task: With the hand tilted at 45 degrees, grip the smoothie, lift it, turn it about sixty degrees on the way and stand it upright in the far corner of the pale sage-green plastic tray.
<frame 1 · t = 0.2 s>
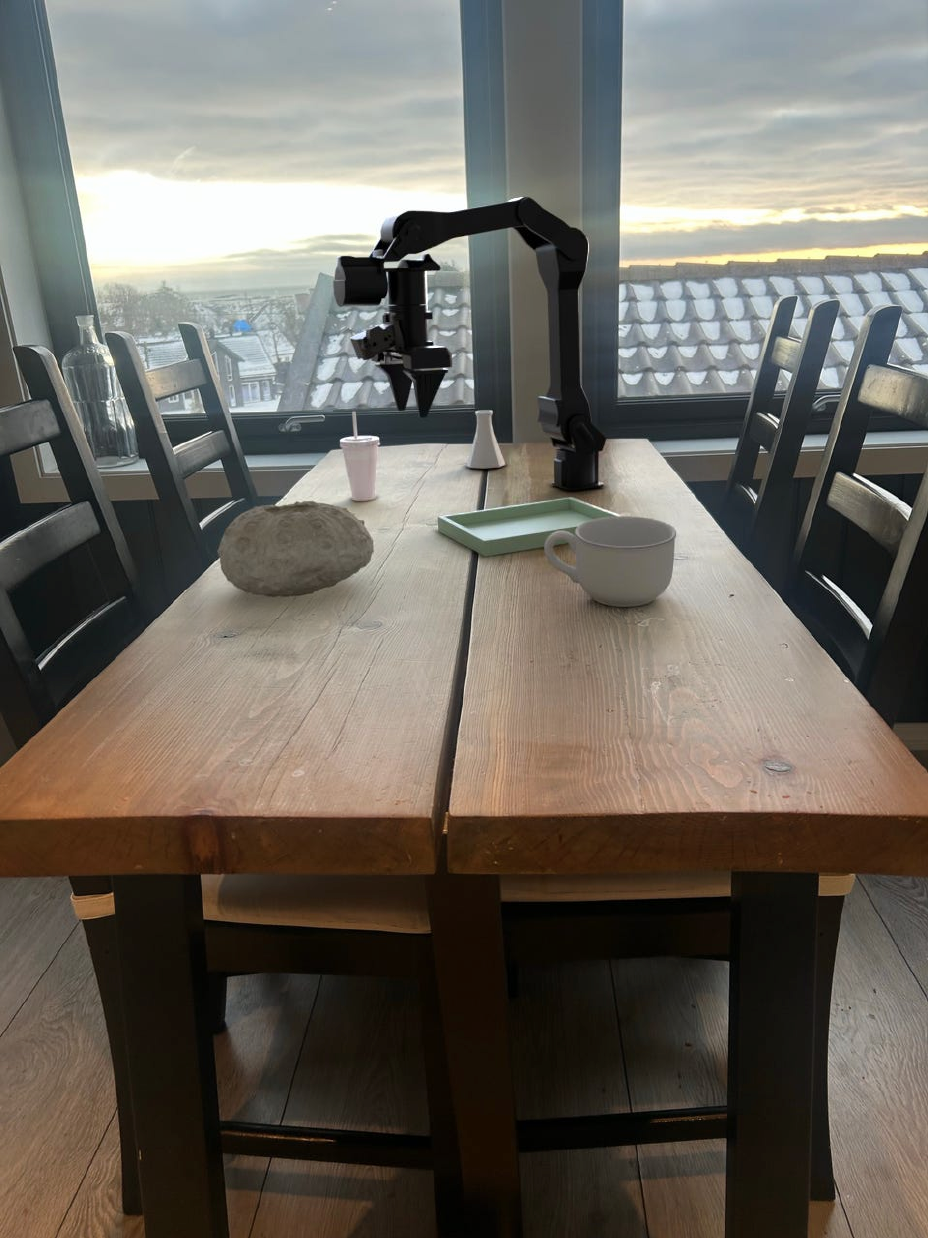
hand: (411, 414, 150), 14 cm above the table, tool pointing down, fingers open, 9 cm apart
smoothie: (364, 499, 163), on the table
teacup: (609, 599, 110), on the table
flask: (485, 467, 185), on the table
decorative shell: (300, 589, 118), on the table
tray: (531, 531, 138), on the table
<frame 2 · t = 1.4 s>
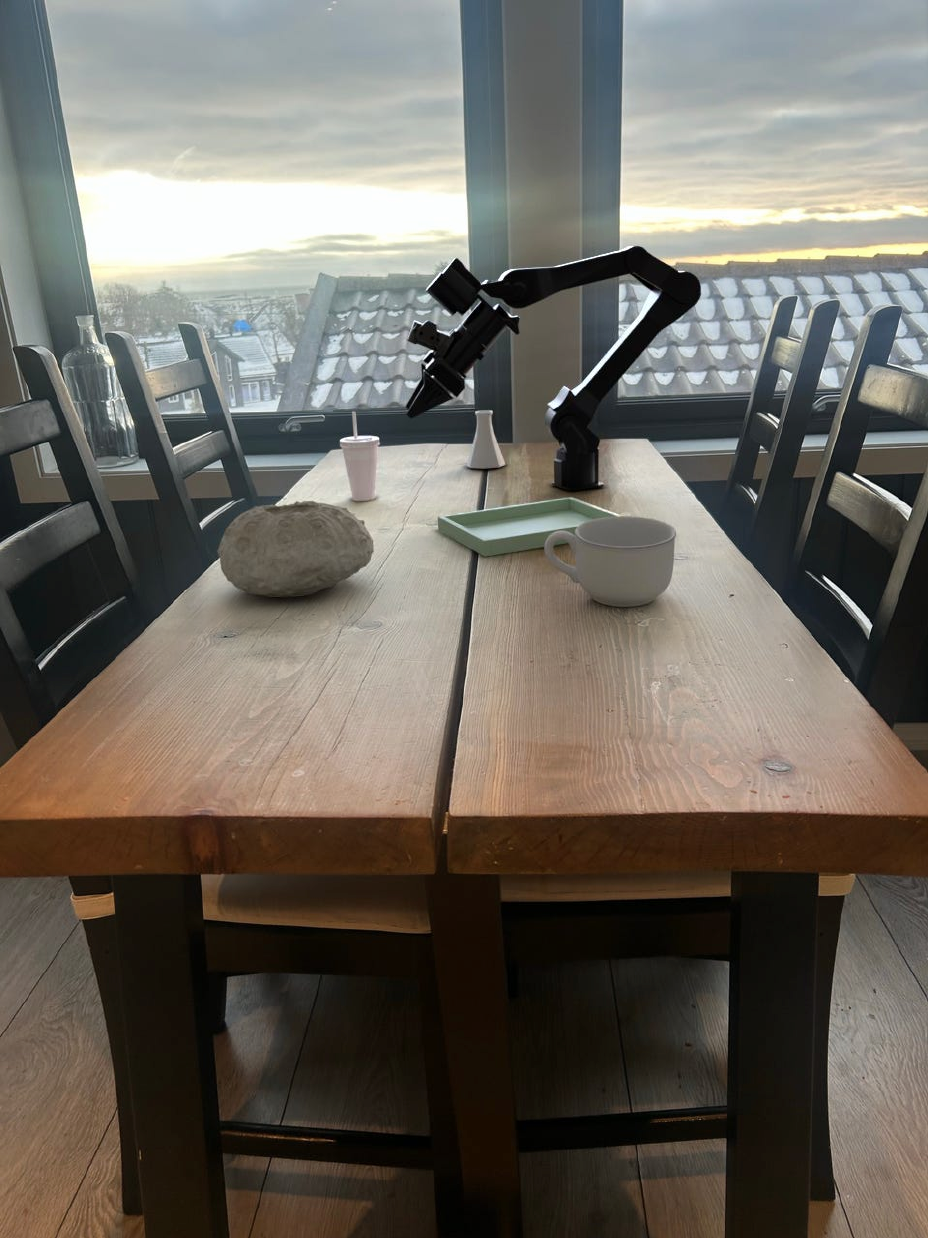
hand: (408, 412, 159), 13 cm above the table, tool tilted 45°, fingers open, 9 cm apart
nothing on the table moved.
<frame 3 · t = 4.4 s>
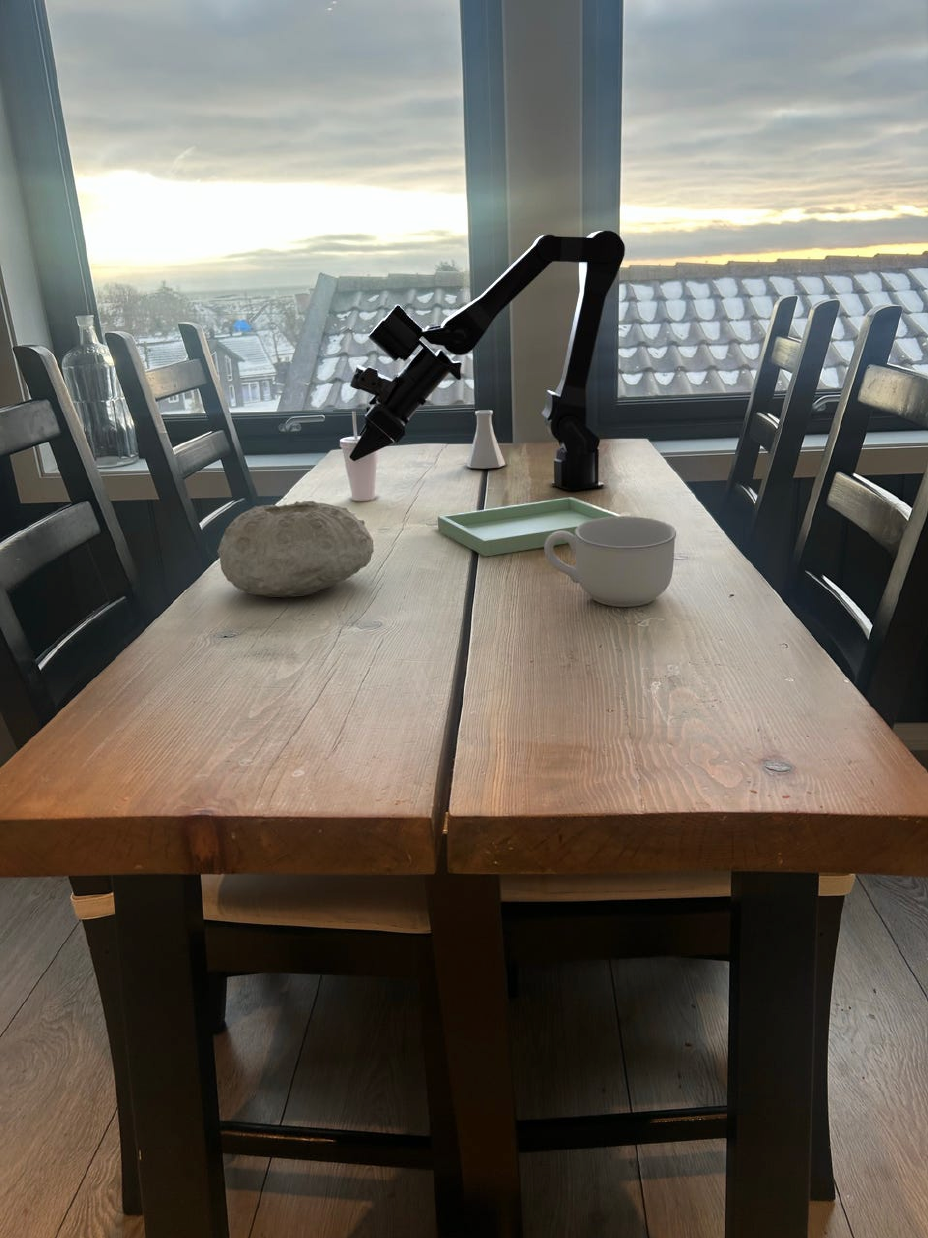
hand: (352, 455, 160), 7 cm above the table, tool tilted 45°, fingers closed on smoothie, 6 cm apart
smoothie: (364, 499, 163), on the table, touching gripper
everything else where it was.
when the fingers open (8 cm above the table, at t = 12.8 s): smoothie stays where it is, resting on tray.
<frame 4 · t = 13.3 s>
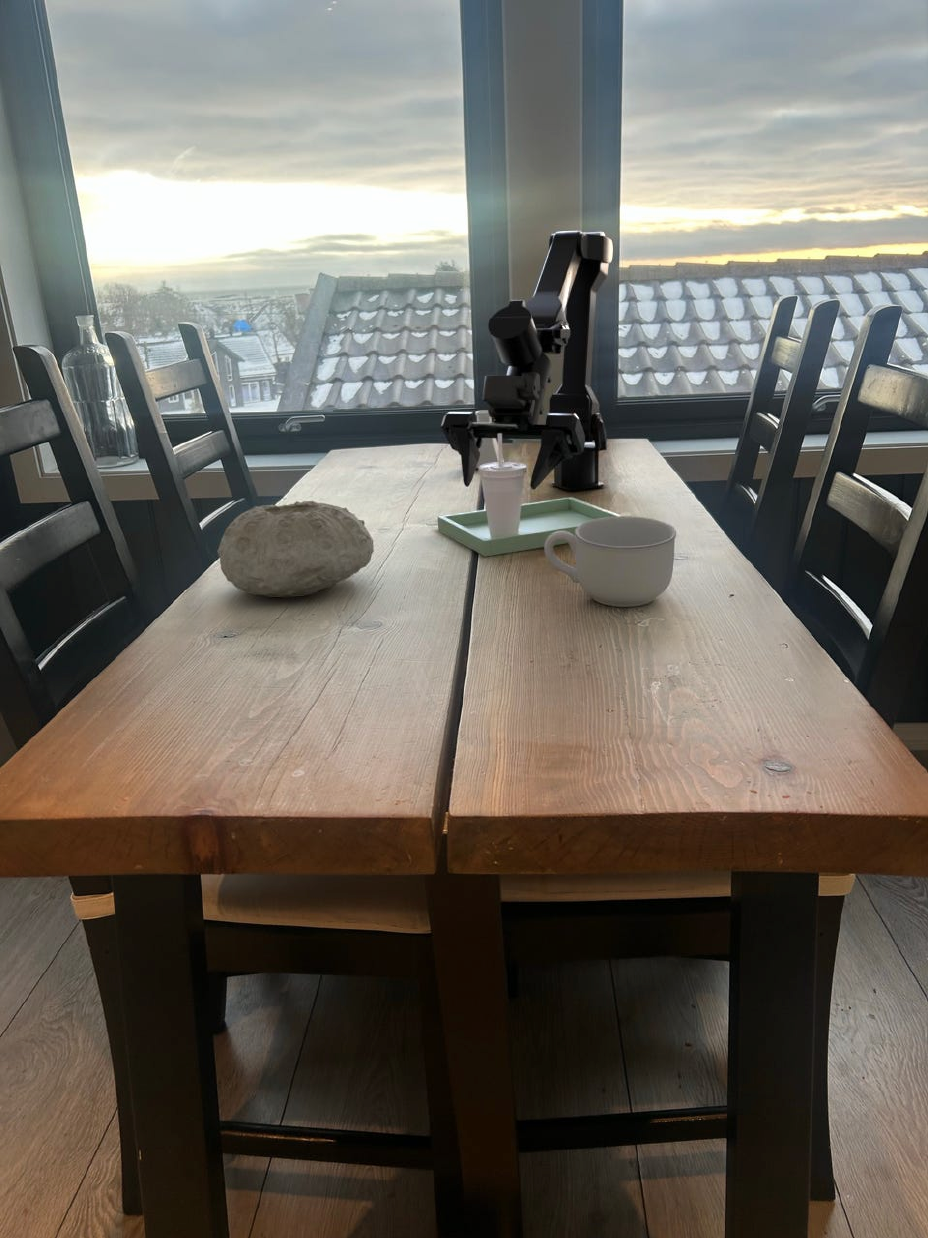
hand: (498, 486, 130), 8 cm above the table, tool tilted 45°, fingers open, 9 cm apart
smoothie: (504, 539, 134), resting on tray
everything else where it was.
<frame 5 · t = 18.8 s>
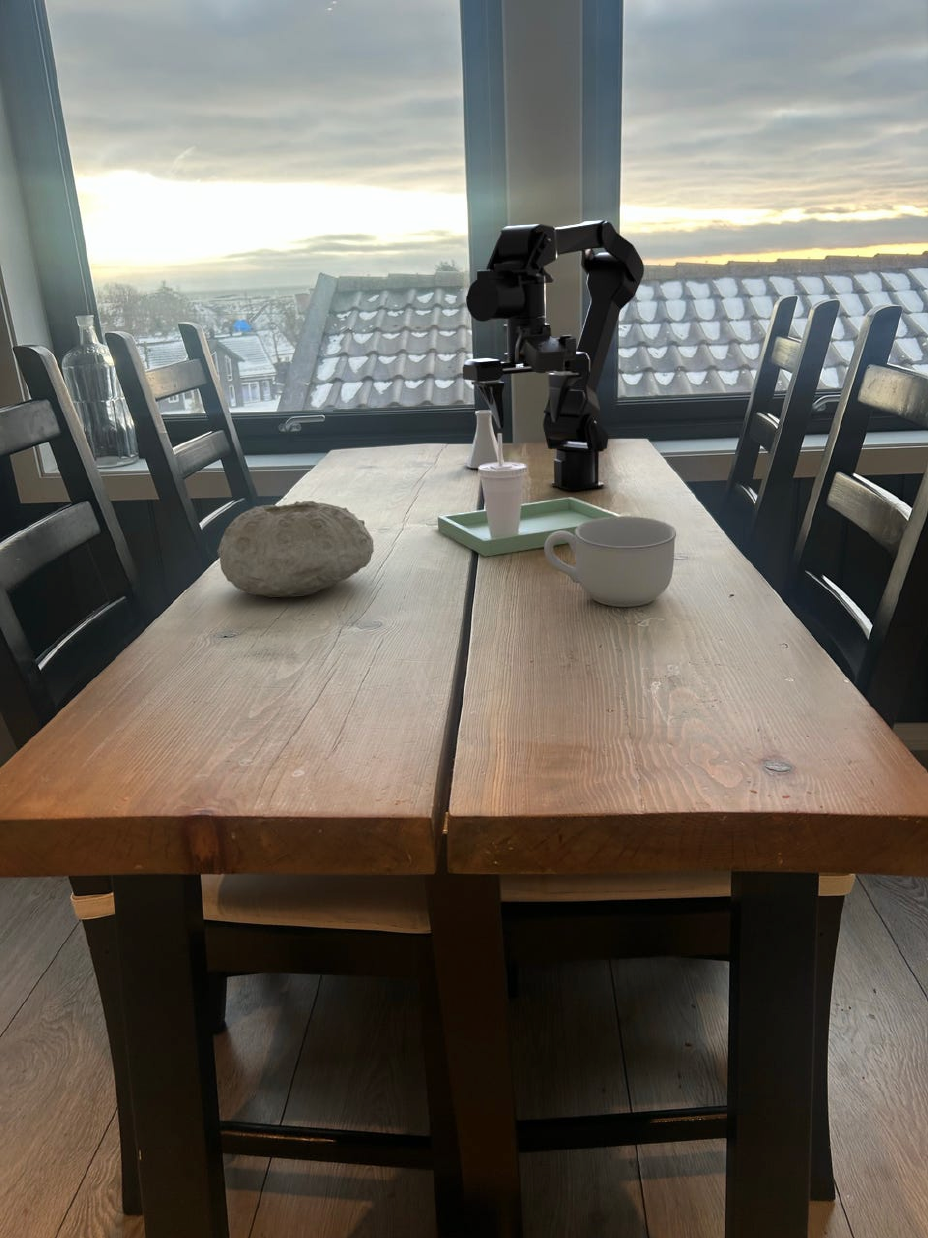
hand: (528, 424, 151), 12 cm above the table, tool pointing down, fingers open, 9 cm apart
nothing on the table moved.
at the end: smoothie inside the target area in the tray (1.4 cm from its centre), point 0.3 cm above the tray's base; smoothie tilted 0°; the gripper is holding nothing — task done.
